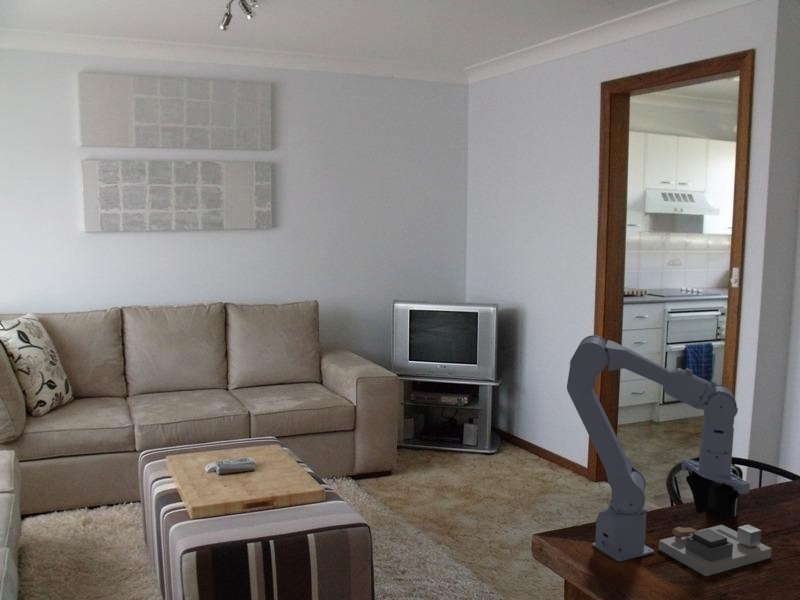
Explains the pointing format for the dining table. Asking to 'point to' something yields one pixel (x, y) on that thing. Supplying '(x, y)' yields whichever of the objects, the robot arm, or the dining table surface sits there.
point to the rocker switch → (683, 531)
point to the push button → (709, 538)
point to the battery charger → (711, 498)
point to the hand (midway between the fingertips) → (711, 516)
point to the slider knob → (749, 535)
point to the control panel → (713, 552)
